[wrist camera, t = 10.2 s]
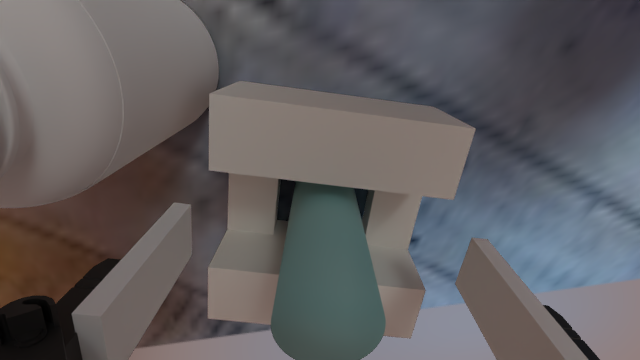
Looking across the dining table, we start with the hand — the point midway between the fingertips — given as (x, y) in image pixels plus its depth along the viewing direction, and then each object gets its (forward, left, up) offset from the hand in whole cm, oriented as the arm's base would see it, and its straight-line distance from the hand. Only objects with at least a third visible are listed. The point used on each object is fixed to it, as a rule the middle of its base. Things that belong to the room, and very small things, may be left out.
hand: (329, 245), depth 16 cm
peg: (0, 0, -7) cm, 8 cm away
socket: (0, 0, -7) cm, 8 cm away
